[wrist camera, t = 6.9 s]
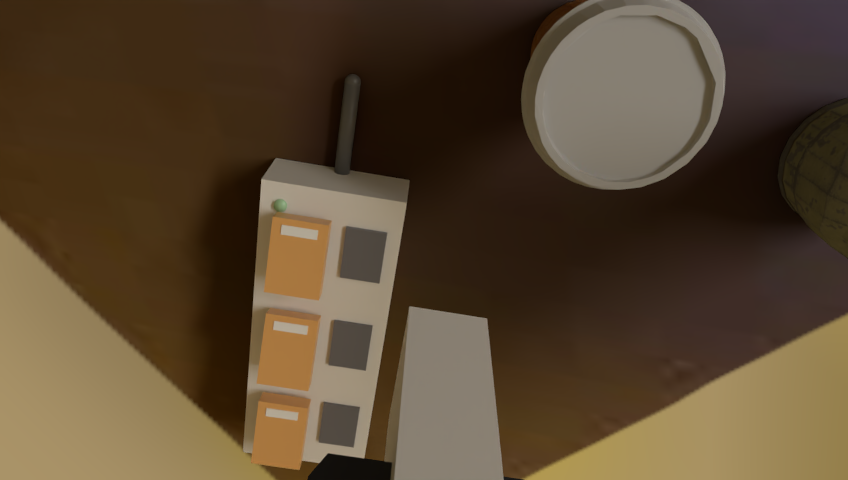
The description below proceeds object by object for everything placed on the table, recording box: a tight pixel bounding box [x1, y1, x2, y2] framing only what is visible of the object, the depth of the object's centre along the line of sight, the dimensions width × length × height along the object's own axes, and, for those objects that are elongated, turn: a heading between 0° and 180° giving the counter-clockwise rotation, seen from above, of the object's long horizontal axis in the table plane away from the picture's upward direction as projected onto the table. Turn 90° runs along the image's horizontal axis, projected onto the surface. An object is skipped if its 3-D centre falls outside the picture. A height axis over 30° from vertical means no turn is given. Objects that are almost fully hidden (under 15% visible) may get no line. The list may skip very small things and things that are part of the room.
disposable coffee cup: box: [521, 0, 725, 190], centre depth 37 cm, size 10×10×12 cm
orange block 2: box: [257, 308, 321, 391], centre depth 46 cm, size 5×3×2 cm
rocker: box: [251, 392, 311, 470], centre depth 49 cm, size 5×3×2 cm
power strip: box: [243, 74, 410, 463], centre depth 47 cm, size 28×9×5 cm, turn 171°
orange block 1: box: [264, 212, 332, 301], centre depth 43 cm, size 5×3×2 cm
